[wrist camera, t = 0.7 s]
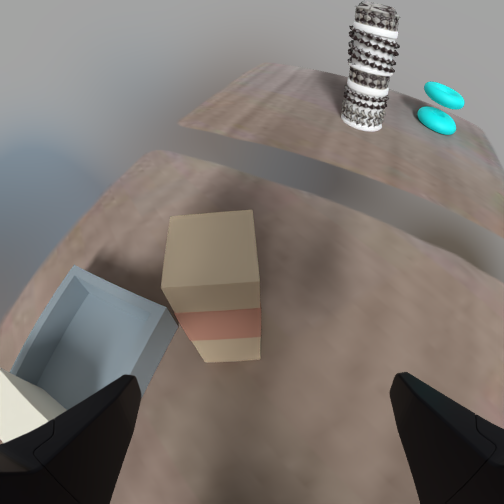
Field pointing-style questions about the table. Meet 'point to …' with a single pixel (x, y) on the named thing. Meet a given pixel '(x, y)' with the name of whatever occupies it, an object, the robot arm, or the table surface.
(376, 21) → the decorative candle
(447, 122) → the donuts
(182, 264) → the oat carton
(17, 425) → the cream rectangular block
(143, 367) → the tote
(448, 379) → the table surface
